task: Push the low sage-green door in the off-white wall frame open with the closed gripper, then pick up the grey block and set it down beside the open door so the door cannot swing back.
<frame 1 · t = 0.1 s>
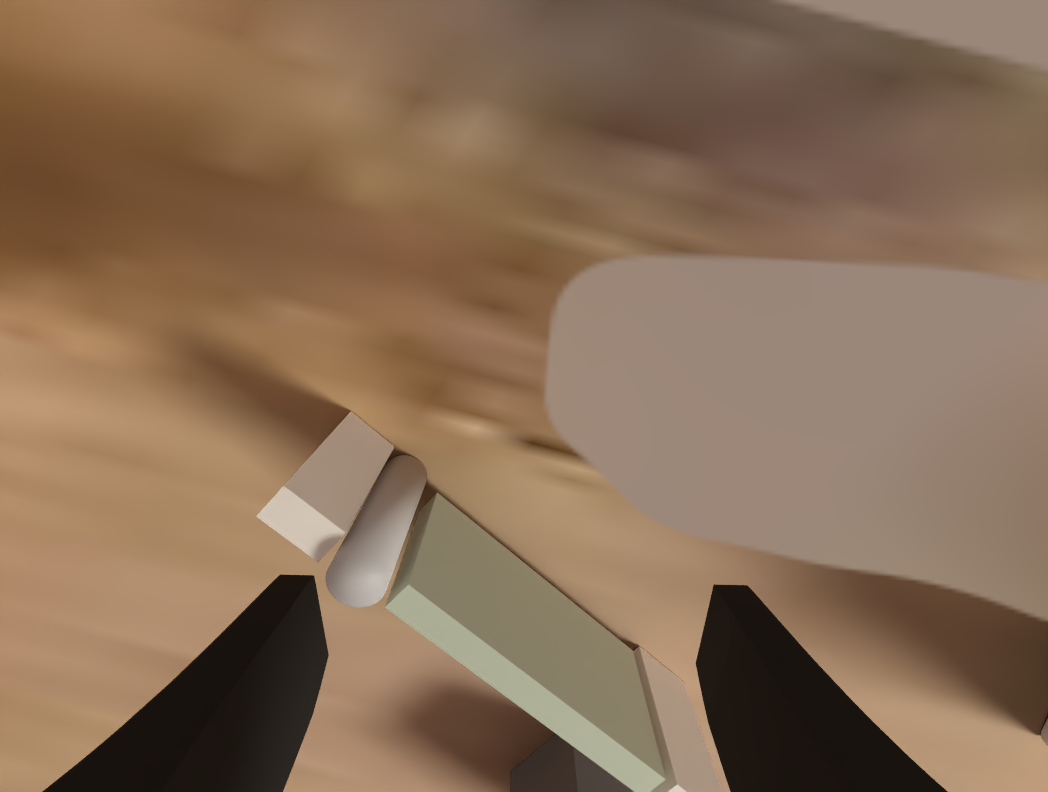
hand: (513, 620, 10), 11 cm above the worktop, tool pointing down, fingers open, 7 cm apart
grey block: (581, 775, 25), on the worktop
wall frame: (405, 475, 21), on the worktop
door: (521, 642, 19), point 3 cm above the worktop, hinge at 0.0°
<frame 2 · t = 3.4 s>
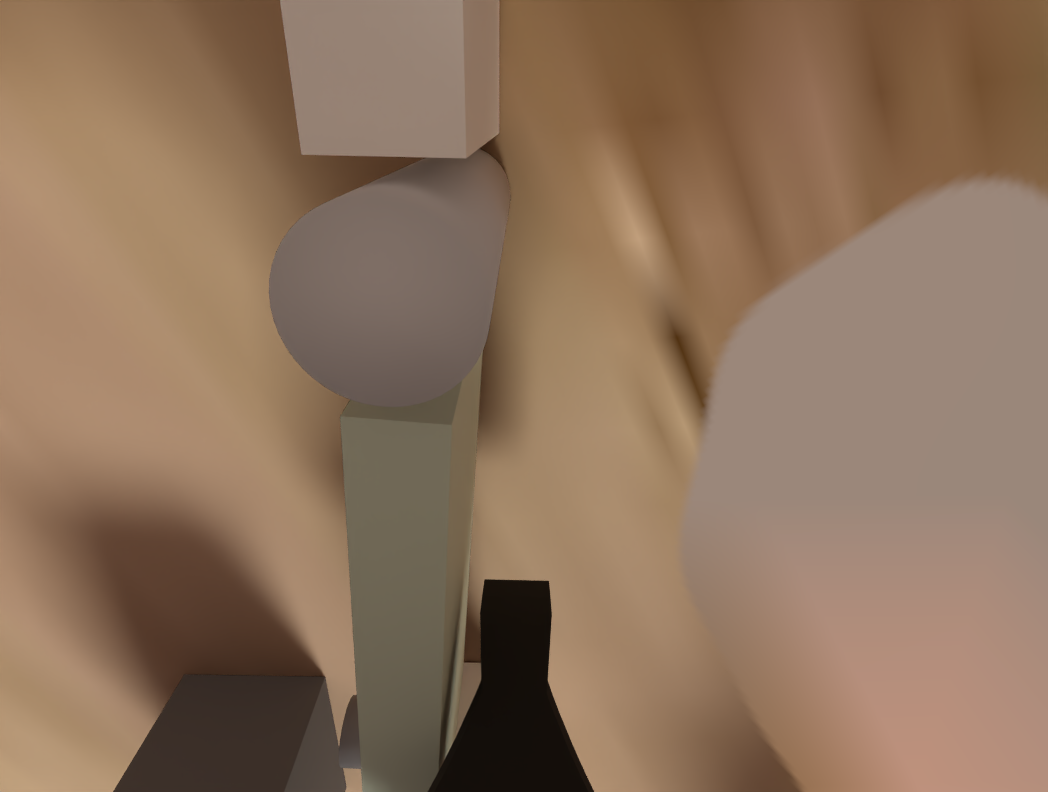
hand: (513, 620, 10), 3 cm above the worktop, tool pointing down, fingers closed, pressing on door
grey block: (271, 733, 17), on the worktop
wall frame: (464, 195, 10), on the worktop
door: (402, 601, 10), point 3 cm above the worktop, hinge at 4.0°, touching gripper
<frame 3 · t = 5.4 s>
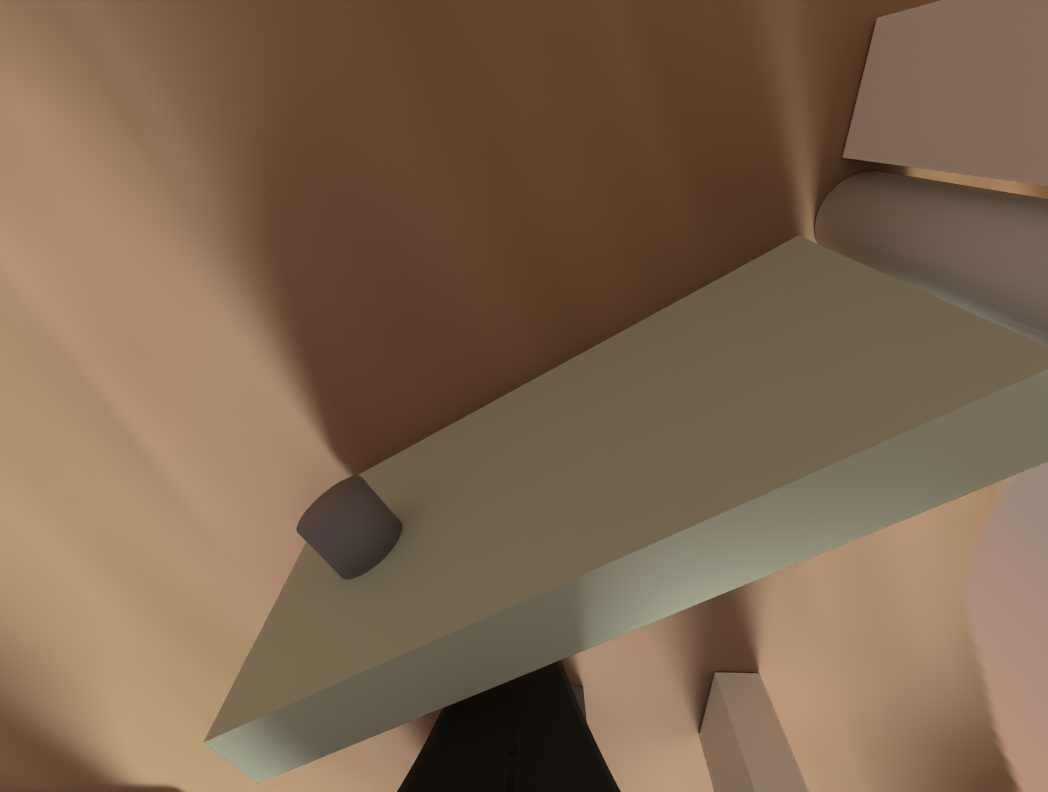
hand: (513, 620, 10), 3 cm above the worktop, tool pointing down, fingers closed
wall frame: (861, 219, 10), on the worktop
door: (545, 450, 9), point 3 cm above the worktop, hinge at 57.7°, touching gripper
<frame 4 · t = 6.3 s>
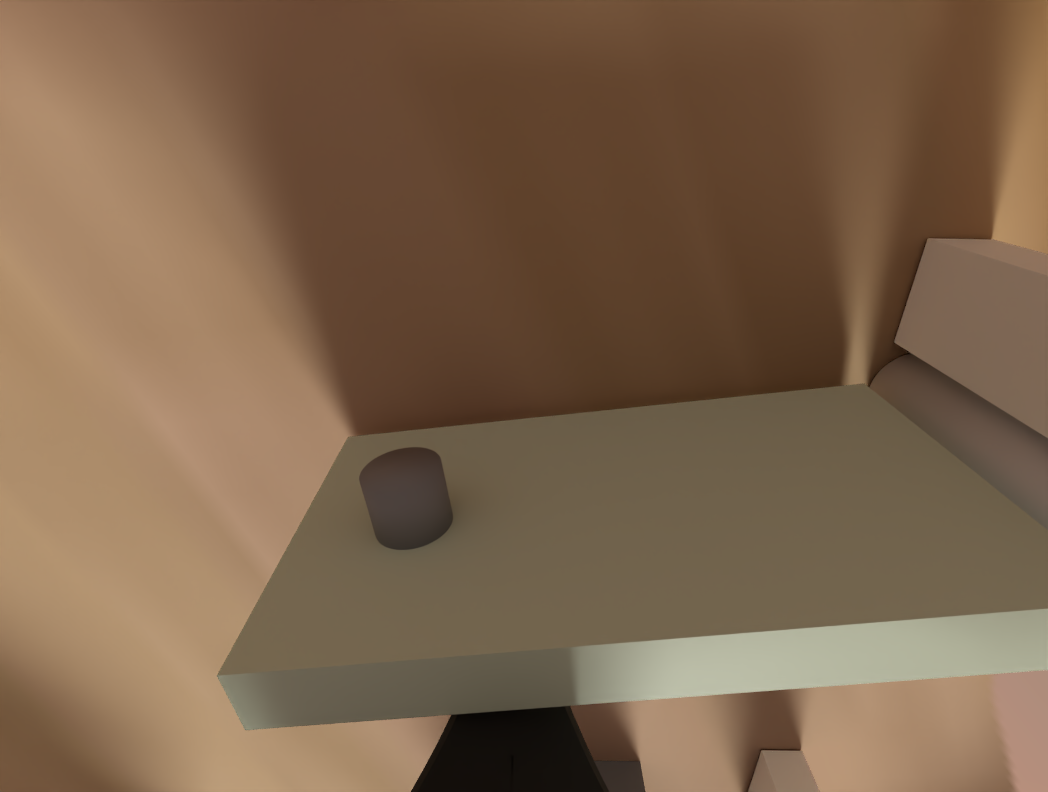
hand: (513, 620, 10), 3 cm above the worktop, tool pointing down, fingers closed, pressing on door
wall frame: (908, 389, 12), on the worktop
door: (620, 493, 9), point 3 cm above the worktop, hinge at 82.2°, touching gripper
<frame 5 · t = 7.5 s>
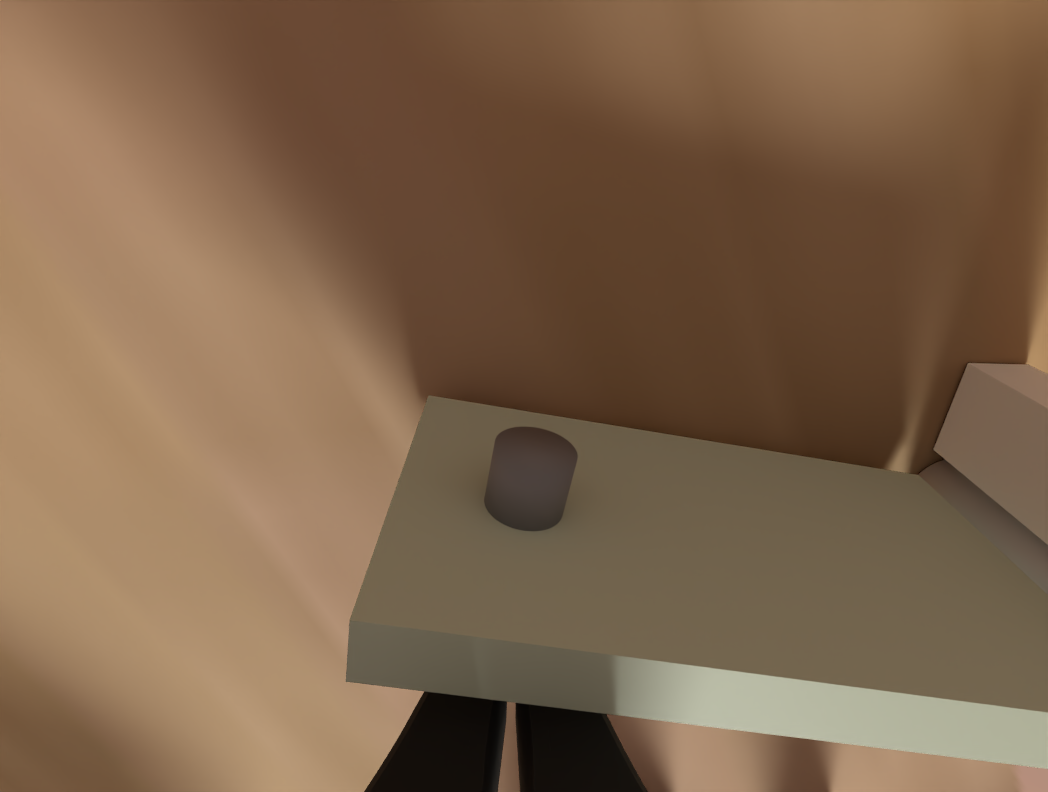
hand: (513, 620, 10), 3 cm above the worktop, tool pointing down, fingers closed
wall frame: (944, 489, 13), on the worktop
door: (723, 524, 9), point 3 cm above the worktop, hinge at 98.8°
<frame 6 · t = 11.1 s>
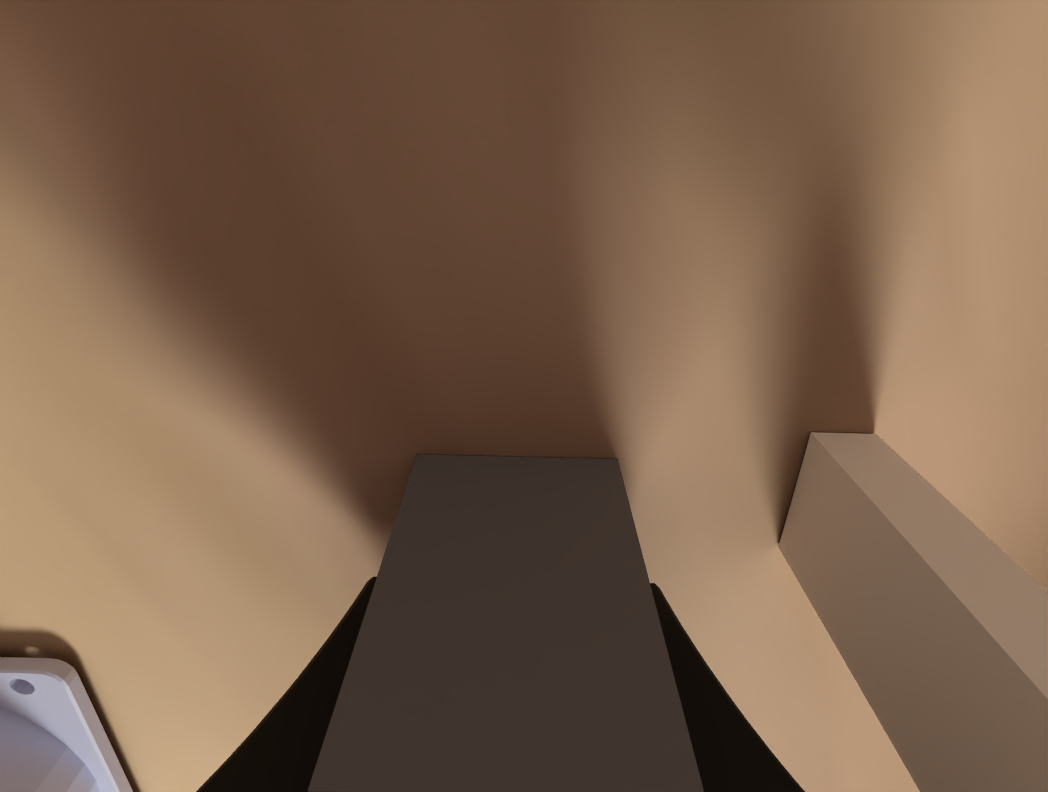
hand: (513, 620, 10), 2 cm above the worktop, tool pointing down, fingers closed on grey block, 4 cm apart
grey block: (514, 558, 12), on the worktop, touching gripper
when the fingers open (3 cm above the worktop, at t = 14.6 s): grey block stays where it is, on the worktop.
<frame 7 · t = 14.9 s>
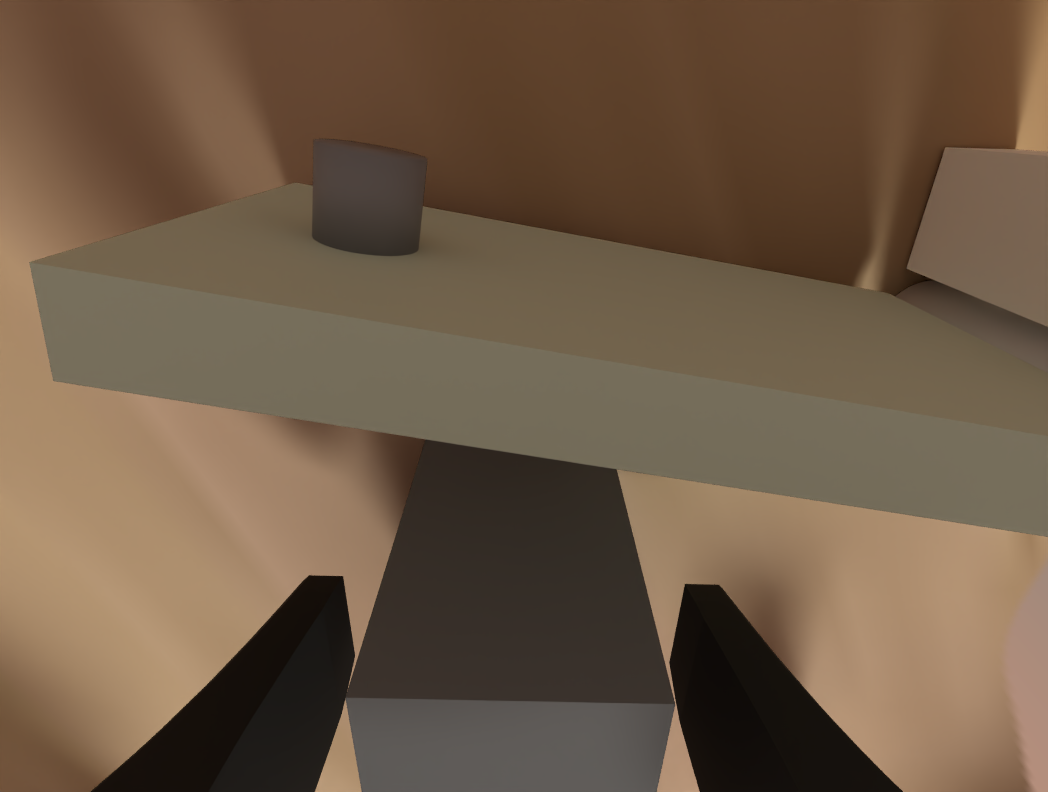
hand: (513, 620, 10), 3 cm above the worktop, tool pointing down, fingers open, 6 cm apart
grey block: (516, 531, 13), on the worktop
wall frame: (921, 322, 11), on the worktop
door: (629, 283, 7), point 3 cm above the worktop, hinge at 98.8°
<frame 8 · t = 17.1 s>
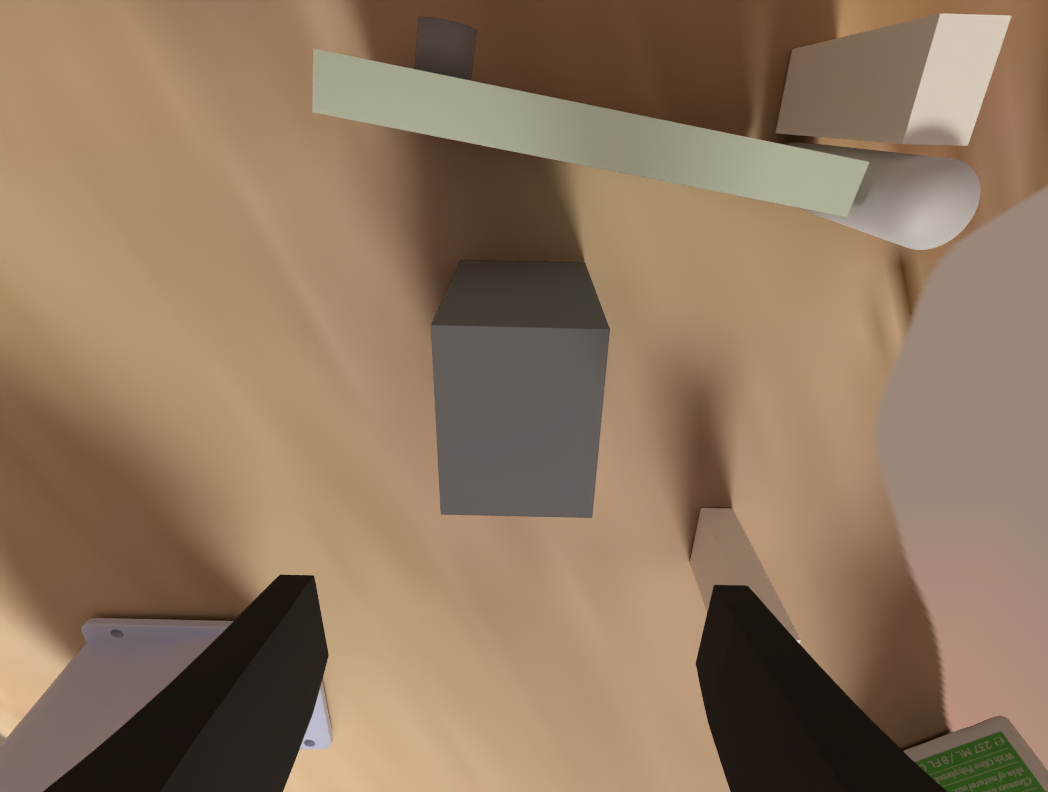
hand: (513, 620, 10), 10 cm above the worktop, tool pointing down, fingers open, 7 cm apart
grey block: (521, 337, 19), on the worktop
wall frame: (788, 172, 16), on the worktop
door: (587, 108, 13), point 3 cm above the worktop, hinge at 98.8°
skincare box: (935, 770, 29), on the worktop
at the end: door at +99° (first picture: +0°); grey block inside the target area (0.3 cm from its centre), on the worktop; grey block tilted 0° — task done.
